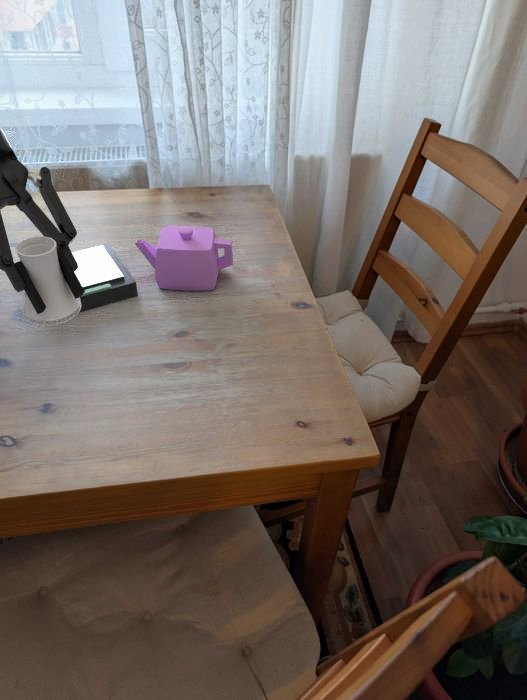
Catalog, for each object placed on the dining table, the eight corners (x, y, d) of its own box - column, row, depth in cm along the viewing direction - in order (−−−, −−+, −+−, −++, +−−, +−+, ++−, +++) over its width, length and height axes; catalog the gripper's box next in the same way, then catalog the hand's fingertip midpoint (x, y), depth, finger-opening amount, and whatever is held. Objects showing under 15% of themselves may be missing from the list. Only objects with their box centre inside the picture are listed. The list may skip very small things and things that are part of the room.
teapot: (135, 290, 97) (128, 242, 90) (144, 260, 105) (138, 213, 98) (231, 294, 98) (232, 246, 91) (233, 263, 106) (234, 217, 99)
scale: (55, 319, 90) (50, 302, 88) (34, 275, 100) (29, 259, 97) (138, 295, 96) (135, 279, 94) (110, 256, 106) (108, 240, 103)
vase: (24, 297, 74) (4, 234, 67) (79, 290, 76) (65, 228, 69) (23, 330, 69) (2, 265, 62) (83, 321, 70) (68, 257, 64)
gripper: (34, 136, 73) (113, 286, 76) (-104, 167, 64) (-9, 336, 67) (43, 107, 67) (128, 271, 70) (-110, 136, 58) (-4, 324, 60)
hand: (61, 302), depth 68 cm, fingers closed on vase, 5 cm apart
